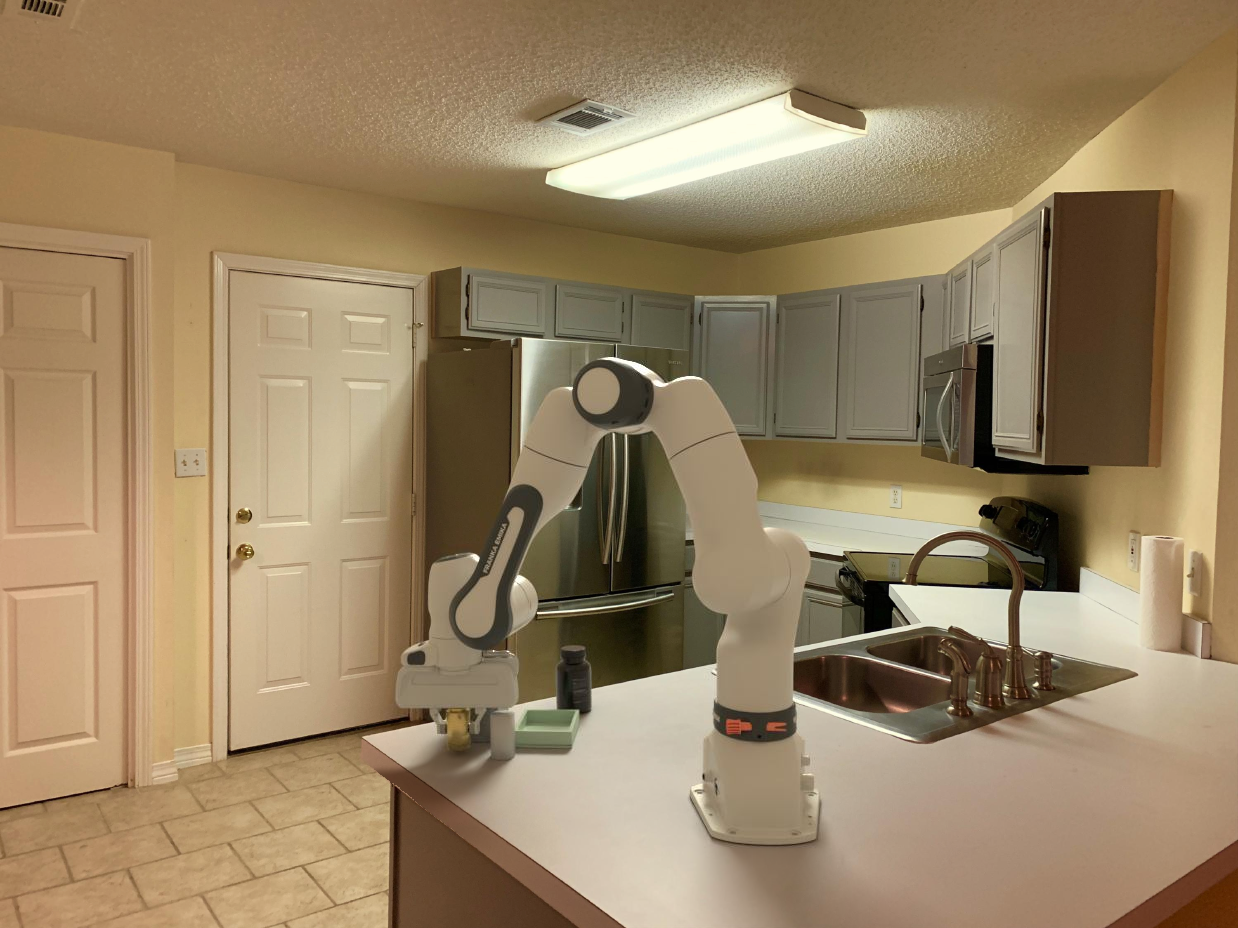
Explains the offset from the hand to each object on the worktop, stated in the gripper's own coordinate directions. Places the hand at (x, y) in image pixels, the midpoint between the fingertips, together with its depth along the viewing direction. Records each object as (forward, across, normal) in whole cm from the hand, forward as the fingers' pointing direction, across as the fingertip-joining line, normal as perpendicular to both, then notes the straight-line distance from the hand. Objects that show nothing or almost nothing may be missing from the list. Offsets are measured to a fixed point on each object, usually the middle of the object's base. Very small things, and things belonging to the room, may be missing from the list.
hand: (458, 733), depth 150 cm
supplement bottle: (+4, -17, -24) cm, 30 cm away
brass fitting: (+2, 0, 0) cm, 2 cm away
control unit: (+3, -2, -10) cm, 11 cm away
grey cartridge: (+4, -8, +1) cm, 8 cm away
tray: (+4, -14, -9) cm, 17 cm away
